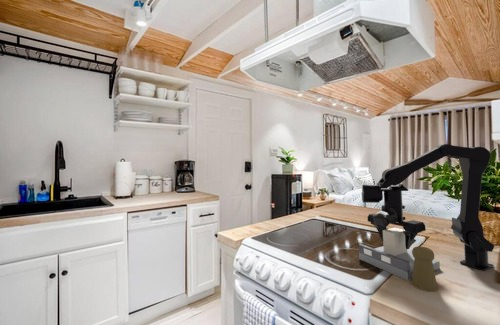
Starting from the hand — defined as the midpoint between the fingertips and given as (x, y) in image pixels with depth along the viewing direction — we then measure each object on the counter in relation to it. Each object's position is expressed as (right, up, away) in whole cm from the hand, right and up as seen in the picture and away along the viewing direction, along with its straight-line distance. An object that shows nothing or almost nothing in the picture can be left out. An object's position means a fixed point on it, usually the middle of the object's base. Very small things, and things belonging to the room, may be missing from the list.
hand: (395, 245), depth 87 cm
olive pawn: (-3, -5, -19) cm, 20 cm away
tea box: (0, -3, 0) cm, 2 cm away
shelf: (-2, -5, -4) cm, 7 cm away
